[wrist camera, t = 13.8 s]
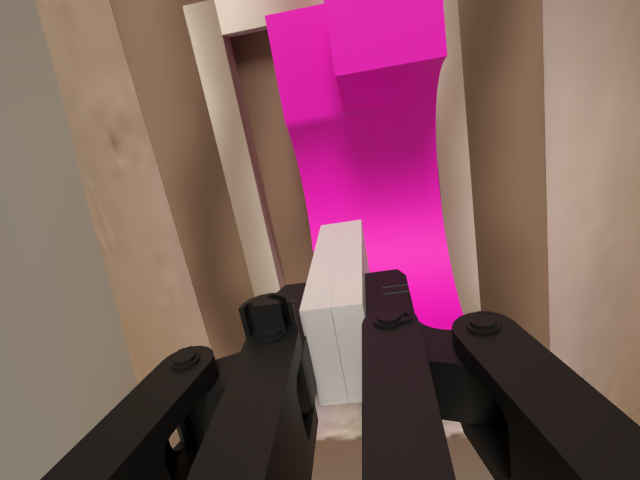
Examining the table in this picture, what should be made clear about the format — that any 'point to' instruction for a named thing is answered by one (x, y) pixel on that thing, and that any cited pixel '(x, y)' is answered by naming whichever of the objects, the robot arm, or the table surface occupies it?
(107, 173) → the table surface
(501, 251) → the locating board
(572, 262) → the table surface
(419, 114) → the toy block
